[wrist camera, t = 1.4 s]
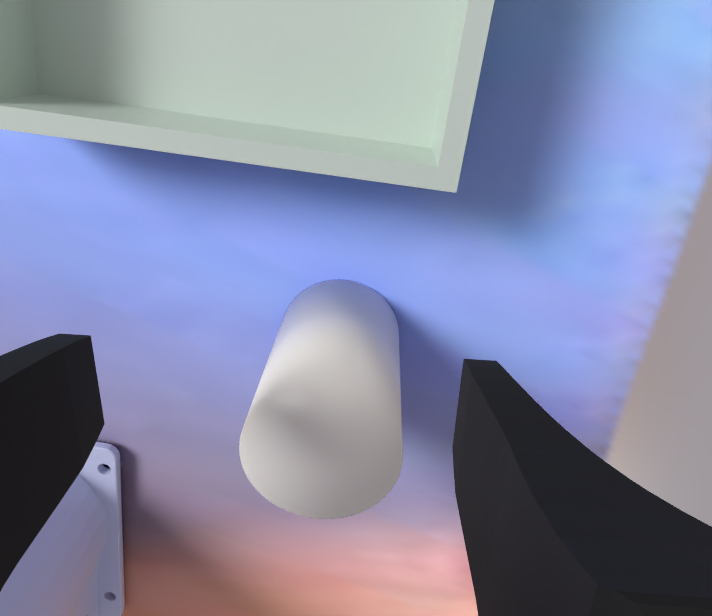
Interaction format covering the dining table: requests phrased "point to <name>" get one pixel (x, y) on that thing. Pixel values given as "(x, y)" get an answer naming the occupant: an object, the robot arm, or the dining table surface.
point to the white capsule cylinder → (328, 405)
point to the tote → (254, 80)
